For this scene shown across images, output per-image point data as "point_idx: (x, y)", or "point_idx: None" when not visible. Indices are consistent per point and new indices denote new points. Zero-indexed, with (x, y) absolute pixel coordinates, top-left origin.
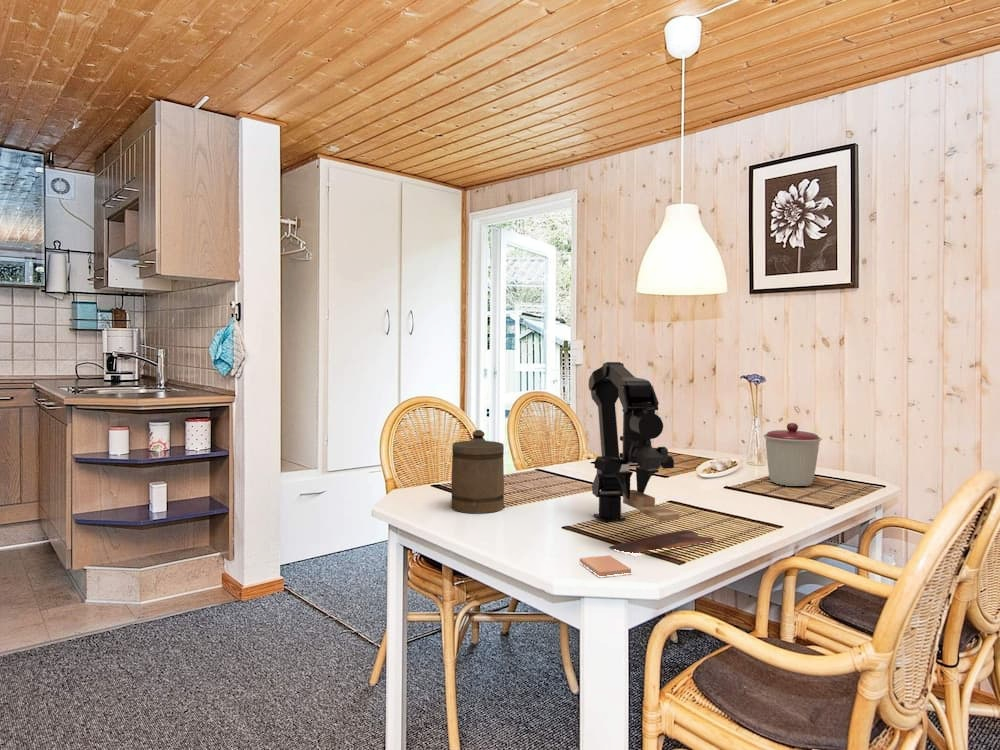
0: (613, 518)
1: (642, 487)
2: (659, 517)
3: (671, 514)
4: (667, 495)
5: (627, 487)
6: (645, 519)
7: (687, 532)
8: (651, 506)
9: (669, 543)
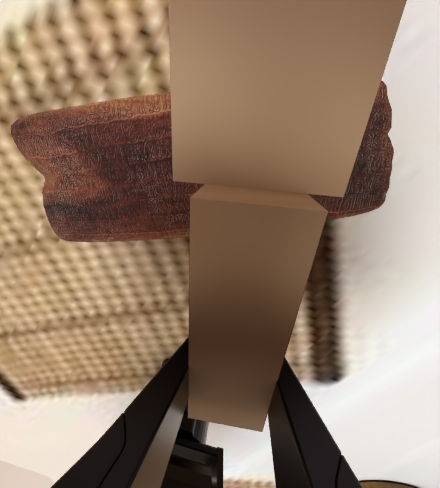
0: None
1: (171, 399)
2: None
3: None
4: (11, 417)
5: (322, 438)
6: (118, 345)
7: (69, 210)
8: (247, 170)
9: None
